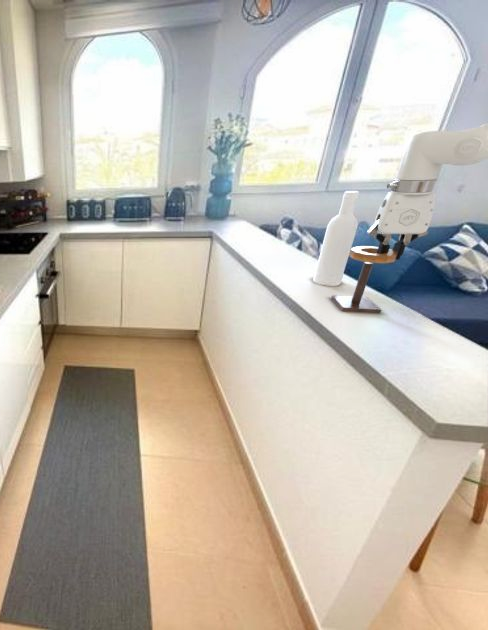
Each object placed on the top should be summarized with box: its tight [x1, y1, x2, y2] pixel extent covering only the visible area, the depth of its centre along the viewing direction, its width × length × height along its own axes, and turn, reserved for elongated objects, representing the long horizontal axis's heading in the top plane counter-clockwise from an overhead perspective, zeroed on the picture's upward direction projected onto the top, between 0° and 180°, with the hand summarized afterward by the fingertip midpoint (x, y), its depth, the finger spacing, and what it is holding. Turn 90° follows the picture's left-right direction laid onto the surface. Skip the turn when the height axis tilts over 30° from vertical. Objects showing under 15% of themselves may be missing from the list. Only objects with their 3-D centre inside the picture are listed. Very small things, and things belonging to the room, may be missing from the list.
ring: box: [349, 245, 398, 264], centre depth 94 cm, size 10×10×2 cm
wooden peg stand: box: [330, 262, 382, 315], centre depth 98 cm, size 9×9×14 cm
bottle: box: [312, 190, 360, 287], centre depth 112 cm, size 8×8×30 cm
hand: (388, 257), depth 94 cm, fingers closed on ring, 2 cm apart
